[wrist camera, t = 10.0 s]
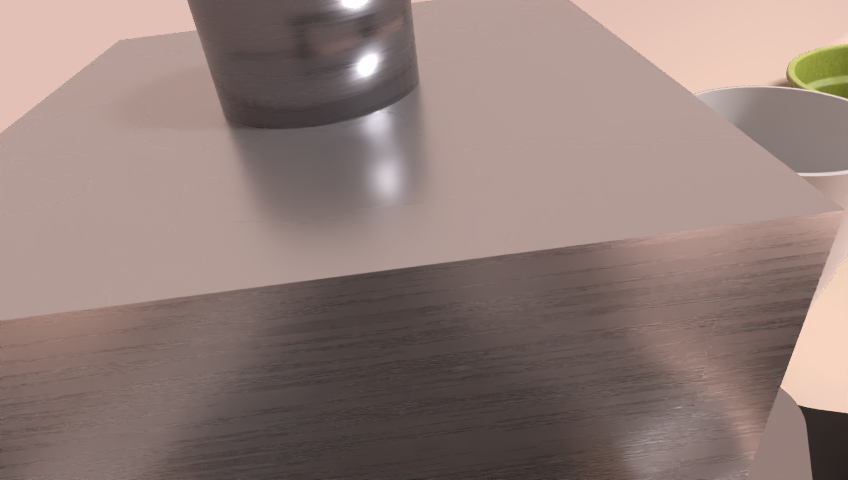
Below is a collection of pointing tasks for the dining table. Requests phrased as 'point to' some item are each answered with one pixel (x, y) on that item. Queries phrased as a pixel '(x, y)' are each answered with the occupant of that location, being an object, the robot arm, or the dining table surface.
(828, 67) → the plant pot
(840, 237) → the cup
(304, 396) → the steel cover
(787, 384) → the dining table surface
